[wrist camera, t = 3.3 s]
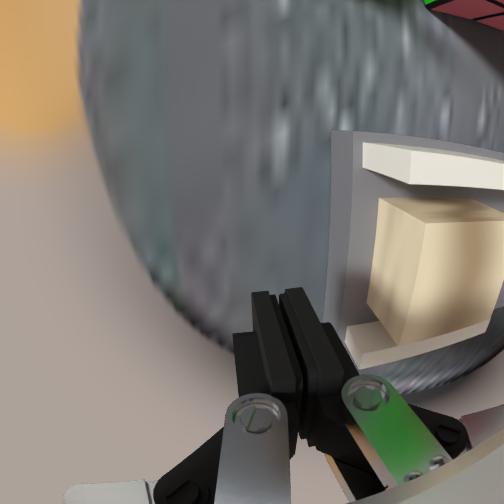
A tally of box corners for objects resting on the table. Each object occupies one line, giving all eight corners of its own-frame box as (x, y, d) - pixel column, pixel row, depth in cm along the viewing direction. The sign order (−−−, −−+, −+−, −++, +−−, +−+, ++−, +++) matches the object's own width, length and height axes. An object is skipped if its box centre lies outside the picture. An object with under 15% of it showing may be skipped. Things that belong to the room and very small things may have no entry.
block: (471, 198, 14) (518, 220, 10) (454, 287, 16) (489, 319, 13) (379, 197, 14) (425, 223, 10) (366, 302, 16) (398, 346, 12)
